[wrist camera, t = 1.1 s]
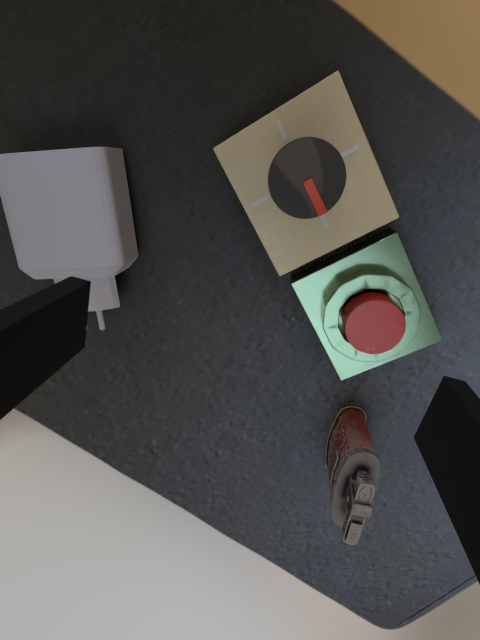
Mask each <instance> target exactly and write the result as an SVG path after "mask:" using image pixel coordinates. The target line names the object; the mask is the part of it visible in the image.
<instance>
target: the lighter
mask: <svg viewBox="0 0 480 640" xmlns="http://www.w3.org/2000/svg"><path fill="white" fill-rule="evenodd" d="M325 463H326V467H327V469H328V472H329V481H330V489H331V517H332V521H333V522H334V523H335V524H336V525H338V526H340V527H342V533H343V540H344V541H345V542H346V543H348V544H352V545H355V544H356V543H357V542H358V540H359V537H360V534H361V531H362V528H363V525H364V522H365V519H366V518H371V515H372V511H373V501H374V499H375V496H376V492H377V488H378V484H379V476H380V461H379V458H378V455H377V454H376V452H375V451H374V449H373V446H372V442H371V439H370V435H369V432H368V428H367V425H366V414H365V410H364V408H363V407H362V406H361V405H360V404H359V403H356V402H344V403H342V404H341V405H340V406H339V407H338V409H337V411H336V413H335V414H334V416H333V418H332V421H331V424H330V426H329V429H328V432H327V438H326V444H325Z"/></svg>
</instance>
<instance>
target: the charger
mask: <svg viewBox="0 0 480 640" xmlns="http://www.w3.org/2000/svg"><path fill="white" fill-rule="evenodd" d="M0 196H1V200H2V204H3V208H4V212H5V215H6V219H7V223H8V227H9V231H10V235H11V239H12V243H13V247H14V250H15V254H16V258H17V262H18V266H19V269H21V270H22V271H23V272H25V273H26V274H28V275H29V276H30V277H32V278H33V279H54V284H55V283H57V282H59V281H62V280H64V279H66V278H68V277H70V276H73V277H77V278H81V279H84V280H88V281H91V287H90V297H89V307H88V311H96V313H97V318H98V323H99V328H100V330H104V329H105V323H104V318H103V313H102V310H107V309H113V308H117V307H120V303H119V297H118V291H117V286H116V280H115V276H116V275H117V274H119V273H121V272H122V271H124V270H126V269H127V268H129V267H130V266H131V265H132V263H133V262H134V261H135V260H136V259H137V257H138V256H139V255H138V249H137V242H136V236H135V229H134V222H133V216H132V209H131V203H130V196H129V189H128V183H127V176H126V170H125V163H124V156H123V150H122V149H121V148H112V147H84V148H71V149H58V150H46V151H33V152H21V153H8V154H0ZM87 329H88V327H86V330H87Z"/></svg>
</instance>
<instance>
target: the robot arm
mask: <svg viewBox="0 0 480 640" xmlns="http://www.w3.org/2000/svg"><path fill="white" fill-rule="evenodd" d="M90 287H91V281H88V280H84V279H81V278H77V277H73V276H70V277H68V278H66V279H64V280H62V281H59V282H57V283H55V284H53V285H51V286H49V287H47V288H45V289H43V290H41V291H39V292H37V293H35V294H33V295H31V296H28V297H26V298H24V299H22V300H20V301H18V302H16V303H14V304H12V305H10V306H8V307H6V308H4V309H2V310H0V420H1V418H3V417H4V416H5V415H6V414H7V413H9V412H10V411H11V410H12V409H13V408H15V407H16V406H17V405H18V404H19V403H20V402H22V401H23V400H24V399H25V398H26V397H27V396H28V395H30V394H31V393H32V392H33V391H34V390H35V389H37V388H38V387H39V386H40V385H41V384H42V383H44V382H45V381H46V380H47V379H48V378H49V377H51V376H52V375H53V374H54V373H55V372H56V371H58V370H59V369H60V368H61V367H62V366H63V365H65V364H66V363H67V362H68V361H69V360H70V359H72V358H73V357H74V356H75V355H76V354H77V353H79V352H80V351H81V350H82V349H83V348H84V347H85V338H86V327H87V317H88V307H89V297H90ZM414 439H415V441H416V443H417V446H418V448H419V450H420V452H421V454H422V457H423V459H424V461H425V463H426V466H427V468H428V470H429V472H430V475H431V477H432V479H433V481H434V483H435V486H436V488H437V490H438V492H439V495H440V497H441V499H442V501H443V503H444V506H445V508H446V510H447V512H448V515H449V517H450V519H451V521H452V524H453V526H454V528H455V530H456V532H457V535H458V537H459V539H460V541H461V544H462V546H463V548H464V550H465V552H466V555H467V557H468V559H469V561H470V564H471V566H472V568H473V570H474V572H475V575H476V577H477V579H478V581H479V584H480V399H479V398H478V397H477V395H476V394H475V393H474V392H473V390H472V389H471V388H470V387H469V385H468V384H467V383H466V382H465V381H462V380H458V379H454V378H451V377H447V376H444V377H443V379H442V381H441V383H440V385H439V387H438V389H437V391H436V393H435V395H434V397H433V399H432V401H431V403H430V405H429V407H428V409H427V411H426V413H425V415H424V418H423V420H422V422H421V424H420V426H419V428H418V430H417V432H416V434H415V436H414Z"/></svg>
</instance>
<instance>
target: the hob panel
mask: <svg viewBox="0 0 480 640" xmlns="http://www.w3.org/2000/svg"><path fill="white" fill-rule="evenodd" d="M302 137H316V138H320V139H323V140H325V141H327V142H329V143H330V144H332V145H333V146H334V147H335V148H336V149H337V150H338V152H339V153H340V154H341V156H342V158H343V161H344V163H345V168H346V184H345V188H344V191H343V193H342V196H341V197H340V199H339V201H338V202H337V203H336V205H335V206H334V207H333V208H332V209H330V210H329V211H328V212H327V213H325V214H323V215H321V216H318V217H315V218H310V219H299V218H295V217H292V216H289V215H288V214H286V213H284V212H283V211H282V210H280V209H279V208H278V207H277V205H276V204H275V203H274V201H273V199H272V197H271V195H270V192H269V187H268V173H269V168H270V165H271V163H272V161H273V159H274V157H275V155H276V154H277V153H278V152H279V150H280V149H281V148H282V147H284V146H285V145H286V144H288V143H289V142H291V141H293V140H295V139H298V138H302ZM213 150H214V152H215V154H216V156H217V158H218V160H219V162H220V163H221V165H222V167H223V169H224V171H225V173H226V175H227V177H228V179H229V181H230V183H231V185H232V186H233V188H234V190H235V192H236V194H237V196H238V198H239V200H240V202H241V204H242V206H243V207H244V209H245V211H246V213H247V215H248V217H249V219H250V221H251V223H252V225H253V227H254V229H255V230H256V232H257V234H258V236H259V238H260V240H261V242H262V244H263V246H264V248H265V250H266V251H267V253H268V255H269V257H270V259H271V261H272V263H273V265H274V267H275V269H276V271H277V273H278V274H279V276H282V275H284V274H286V273H288V272H290V271H292V270H294V269H296V268H298V267H300V266H302V265H304V264H306V263H308V262H310V261H312V260H314V259H316V258H318V257H320V256H322V255H324V254H326V253H328V252H330V251H332V250H334V249H337V248H339V247H341V246H343V245H345V244H347V243H349V242H351V241H353V240H355V239H357V238H359V237H361V236H363V235H365V234H367V233H369V232H371V231H373V230H375V229H377V228H379V227H381V226H383V225H385V224H387V223H389V222H391V221H393V220H395V219H397V218H399V215H398V212H397V210H396V208H395V205H394V203H393V200H392V198H391V196H390V193H389V191H388V188H387V186H386V184H385V181H384V179H383V176H382V174H381V172H380V169H379V167H378V164H377V162H376V160H375V157H374V155H373V152H372V150H371V148H370V145H369V143H368V140H367V138H366V136H365V133H364V131H363V128H362V126H361V124H360V121H359V119H358V116H357V114H356V112H355V109H354V107H353V104H352V102H351V100H350V97H349V95H348V92H347V90H346V88H345V85H344V83H343V80H342V78H341V76H340V73H339V71H336V72H335V73H333V74H331V75H330V76H328V77H327V78H325V79H323V80H322V81H320V82H319V83H317V84H315V85H314V86H312V87H311V88H309V89H307V90H306V91H304V92H303V93H301V94H299V95H298V96H296V97H294V98H293V99H291V100H290V101H288V102H286V103H285V104H283V105H282V106H280V107H278V108H277V109H275V110H274V111H272V112H270V113H269V114H267V115H266V116H264V117H262V118H261V119H259V120H257V121H256V122H254V123H253V124H251V125H249V126H248V127H246V128H245V129H243V130H241V131H240V132H238V133H237V134H235V135H233V136H232V137H230V138H229V139H227V140H225V141H224V142H222V143H220V144H219V145H217V146H216V147H214V148H213Z"/></svg>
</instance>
